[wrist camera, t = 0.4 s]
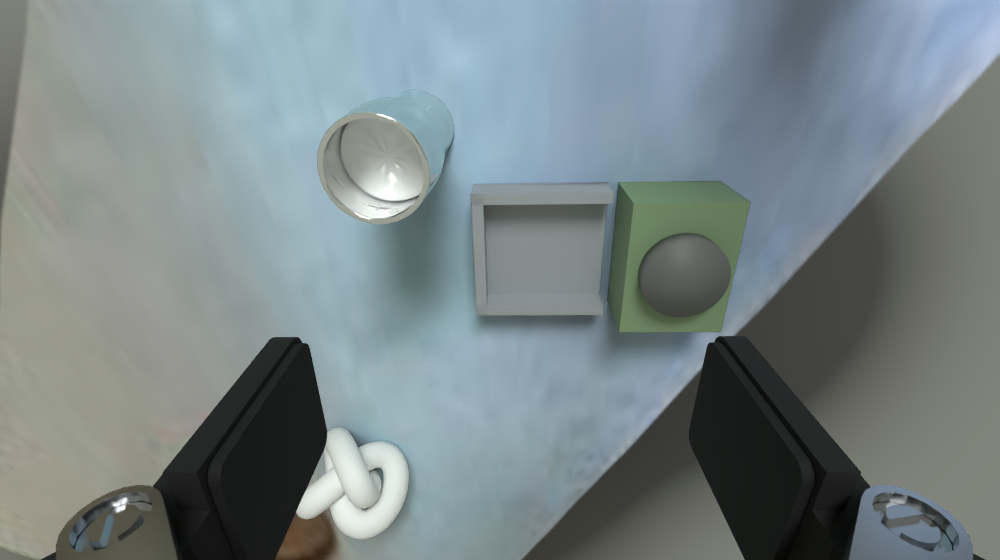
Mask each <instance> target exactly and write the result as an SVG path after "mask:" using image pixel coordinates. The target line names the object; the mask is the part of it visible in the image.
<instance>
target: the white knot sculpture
mask: <svg viewBox="0 0 1000 560" xmlns="http://www.w3.org/2000/svg"><path fill="white" fill-rule="evenodd" d="M324 458H325V468H326V473H325V474H324V475H323V476H322V477H320V478H319V479H318V480H317V481H316V482H314V483H313V484H312V485H311V486H310V487H308V488H307V489H306V491H305V493H304V495H303V497H302V500H301V502H300V504H299V506H298V509H297V511H296V513H297V514H298V516H299V517H300V518H303V519H310V518H314V517H316V516H317V515H319V514H320V513H322V512H323V511H325V510H326V509H328V508H330V511H331V514H332V517H333V520H334V522H335V524H336V525H337V527H338V528H339V529H340V530H341V531H342V532H343V533H344V534H346V535H347V536H349V537H351V538H354V539H368V538H372V537H374V536H376V535H378V534H380V533H381V532H383V531H384V530H385V529H387V528H388V527H389V526H390V524H391V523H392V522H393V521H394V520H395V518H396V517H397V515H398V514H399V512H400V510H401V508H402V506H403V504H404V501H405V498H406V495H407V491H408V484H409V469H408V465H407V461H406V459H405V457H404V455H403V453H402V452H401V451H400V449H399V448H398V447H396V446H395V445H394V444H392V443H389V442H385V441H378V442H370V443H367V444H364V445H362V446H360V447H359V448H358V446H357V444H356V442H355V440H354V438H353V437H352V435H351V434H350V433H349V431H348V430H346V429H344V428H341V427H339V428H333V429H332V430H330V431H329V432H328V433H327V442H326V446H325V448H324ZM378 467H379V468H381V469H382V471H383V475H384V482H383V487H382V491H381V493H380V490H381V478H380V476H379V474H378V472H377V471H376V470H375V468H378ZM368 507H370V508H369V509H367V510H362V509H365V508H368Z"/></svg>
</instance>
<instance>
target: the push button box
mask: <svg viewBox="0 0 1000 560" xmlns="http://www.w3.org/2000/svg"><path fill="white" fill-rule="evenodd" d="M613 194H614V192H613V190H612V189H611V187H610V186H609V184H608V183H520V184H473V188H472V192H471V205H472V226H473V248H474V269H475V290H476V311H477V315H602V314H603V304H602V301H601V298H600V295H599V290H600V278H601V267H602V255H603V244H604V232H605V220H606V209H607V204H613ZM749 206H750V201H748V200H747V199H745V198H744V197H742V196H741V195H740V194H738V193H737V192H735V191H734V190H732V189H731V188H730V187H728V186H727V185H725V184H724V183H722V182H721V181H697V182H619V184H618V195H617V205H616V215H615V226H614V236H613V247H612V257H611V268H610V278H609V289H608V299H607V300H608V302H609V305H610V308H611V311H612V314H613V316H614V319H615V322H616V325H617V327H618V330H619V332H721V330H722V326H723V321H724V317H725V312H726V308H727V303H728V299H729V295H730V290H731V286H732V281H733V277H734V273H735V268H736V264H737V259H738V255H739V251H740V246H741V242H742V237H743V233H744V228H745V224H746V220H747V215H748V211H749Z"/></svg>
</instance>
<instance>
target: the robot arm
mask: <svg viewBox="0 0 1000 560" xmlns="http://www.w3.org/2000/svg"><path fill="white" fill-rule="evenodd" d="M689 440H690V445H691V447H692V449H693V452H694V454H695V456H696V458H697V460H698V462H699V464H700V466H701V468H702V471H703V472H704V475H705V477H706V479H707V481H708V483H709V485H710V487H711V489H712V492H713V494H714V496H715V498H716V500H717V502H718V504H719V506H720V508H721V511H722V513H723V515H724V517H725V519H726V521H727V523H728V525H729V527H730V529H731V531H732V534H733V536H734V538H735V540H736V542H737V544H738V546H739V548H740V550H741V552H742V555H743V556H744V559H745V560H984V559H983V558H981V557H979V556H977V555H975V554H973V546H972V543H971V539H970V536H969V534H968V533H967V532H966V530H965V529H964V527H963V526H962V525H961V523H960V522H959V521H958V520H957V519H956V518H955V517H953V516H952V515H951V514H950V513H949V512H948V511H947V510H945V509H944V508H942V507H941V506H939V505H938V504H937V503H935V502H934V501H932V500H930V499H928V498H926V497H924V496H922V495H920V494H918V493H916V492H913V491H910V490H907V489H904V488H901V487H896V486H890V485H879V486H873V487H870V486H869V485H868V483H867V482H866V481H865V480H864V479H863V477H862V476H861V475H860V474H861V472H860V470H858V468H857V467H856V466H855V465H854V464H853V462H852V461H851V460H850V459H849V458H848V456H847V455H846V454H845V453H844V452H843V451H842V449H841V448H840V447H839V446H838V445H837V443H836V442H835V441H834V440H833V439H832V438H831V436H830V435H829V434H828V433H827V432H826V430H825V429H824V428H823V427H822V426H821V425H820V424H819V422H818V421H817V420H816V419H815V418H814V416H813V415H812V414H811V413H810V412H809V411H808V409H807V408H806V407H805V406H804V405H803V403H802V402H801V401H800V400H799V399H798V398H797V396H796V395H795V394H794V393H793V392H792V390H791V389H789V387H788V386H787V385H786V383H785V382H784V381H783V380H782V379H781V378H780V376H779V375H778V374H777V373H776V372H775V371H774V369H773V368H772V367H771V366H770V365H769V363H768V362H767V361H766V360H765V359H764V357H763V356H762V355H761V354H760V353H759V352H758V350H757V349H756V348H755V347H754V346H753V345H752V343H751V342H750V341H749V340H748V339H747V338H746V337H743V336H719V337H717V338H716V340H715V342H714V343H709V344H708V346H707V350H706V354H705V359H704V363H703V368H702V373H701V378H700V382H699V387H698V391H697V396H696V401H695V405H694V411H693V415H692V419H691V425H690V429H689ZM326 442H327V428H326V424H325V419H324V414H323V409H322V405H321V400H320V395H319V390H318V386H317V381H316V376H315V372H314V367H313V362H312V357H311V353H310V348H309V346H308V344H306V343H302V341H301V340H300V338H298V337H274V338H271V339H270V340H269V341H268V343H267V344H266V345H265V346H264V348H263V349H262V350H261V351H260V352H259V354H258V355H257V356H256V357H255V359H254V360H253V361H252V362H251V364H250V365H249V366H248V367H247V369H246V370H245V371H244V372H243V374H242V375H241V376H240V377H239V379H238V380H237V381H236V382H235V383H234V385H233V386H232V387H231V388H230V390H229V391H228V392H227V393H226V395H225V396H224V397H223V398H222V400H221V401H220V402H219V403H218V405H217V406H216V407H215V408H214V410H213V411H212V412H211V413H210V415H209V416H208V417H207V418H206V419H205V421H204V422H203V423H202V424H201V426H200V427H199V428H198V429H197V431H196V432H195V433H194V434H193V436H192V437H191V438H190V439H189V441H188V442H187V443H186V444H185V446H184V447H183V448H182V449H181V451H180V452H179V453H178V454H177V455H176V457H175V458H174V459H173V460H172V462H171V463H170V464H169V465H168V467H167V468H166V469H165V470H164V472H163V474H162V476H161V477H160V478H159V479H158V481H157V482H156V483H155V484H154V486H153V487H152V486H147V485H135V486H129V487H123V488H121V489H118V490H115V491H112V492H109V493H107V494H105V495H103V496H101V497H99V498H97V499H96V500H94V501H92V502H91V503H89V504H88V505H86V506H85V507H84V508H82V509H81V510H79V511H78V512H77V513H76V514H75V515H74V516H73V517H72V518H71V519H70V520H69V521H68V522H67V523H66V525H65V526H64V528H63V529H62V531H61V532H60V534H59V536H58V540H57V543H56V552H55V553H53V554H51V555H49V556H47V557H45V558H43V559H41V560H275V558H276V555H277V553H278V551H279V549H280V547H281V544H282V542H283V540H284V538H285V535H286V533H287V531H288V529H289V526H290V524H291V522H292V520H293V518H294V515H295V513H296V511H297V509H298V506H299V504H300V502H301V500H302V497H303V495H304V493H305V491H306V489H307V486H308V484H309V482H310V480H311V477H312V475H313V473H314V471H315V468H316V466H317V464H318V462H319V460H320V457H321V455H322V453H323V451H324V448H325V446H326Z"/></svg>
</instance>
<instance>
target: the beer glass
mask: <svg viewBox="0 0 1000 560" xmlns="http://www.w3.org/2000/svg"><path fill="white" fill-rule="evenodd" d="M453 134H454V125H453V120H452V116H451V114H450V112H449V110H448V108H447V107H446V105H445V104H444V103H443V102H442V101H441V100H440V99H439V98H438V97H436V96H435V95H433V94H431V93H429V92H426V91H423V90H408V91H405V92H402V93H400V94H398V95H397V96H395V97H394V98H391V97H386V98H379V99H375V100H372V101H368V102H366V103H363V104H361V105H360V106H358V107H356V108H354V109H353V110H351V111H350V112H348V113H347V114H346V115H345V116H343V117H342V118H341V119H339V120H338V121H336V122H335V123H334V124H333V125H332V126H331V127H330V128H329V129H328V130H327V131H326V133H325V134H324V136H323V138H322V140H321V143H320V145H319V149H318V155H317V168H318V174H319V177H320V181H321V183H322V186H323V188H324V190H325V191H326V193H327V195H328V196H329V197H330V199H331V200H332V201H333V202H334V203H335V204H336V205H337V206H338V207H339V208H340V209H341V210H342V211H344V212H345V213H346V214H348V215H350V216H351V217H353V218H355V219H358V220H360V221H363V222H367V223H372V224H389V223H394V222H397V221H400V220H402V219H404V218H406V217H408V216H409V215H411V214H412V213H413V212H414V211H415V210H416V209H417V208H418V207H419V206H420V205H421V203H422V202H423V201H424V200H425V198H426V197H427V196H428V195H429V194H430V192H431V191H432V189H433V188H434V186H435V185H436V183H437V181H438V179H439V177H440V174H441V171H442V169H443V165H444V158H445V152H446V151H447V150H448V148H449V147H450V145H451V142H452V139H453Z"/></svg>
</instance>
